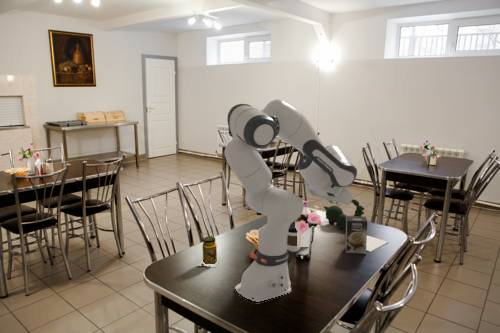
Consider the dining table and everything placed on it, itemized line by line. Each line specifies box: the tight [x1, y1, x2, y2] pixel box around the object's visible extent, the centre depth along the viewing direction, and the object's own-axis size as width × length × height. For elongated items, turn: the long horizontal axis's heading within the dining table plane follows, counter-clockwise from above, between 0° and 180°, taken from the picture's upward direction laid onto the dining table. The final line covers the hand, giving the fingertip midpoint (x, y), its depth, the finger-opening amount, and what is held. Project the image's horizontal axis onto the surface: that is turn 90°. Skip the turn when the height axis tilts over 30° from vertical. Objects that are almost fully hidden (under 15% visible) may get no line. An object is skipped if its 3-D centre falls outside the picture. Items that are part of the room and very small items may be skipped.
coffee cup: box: [287, 221, 298, 253], centre depth 175 cm, size 11×11×12 cm
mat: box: [366, 234, 389, 253], centre depth 182 cm, size 16×13×1 cm
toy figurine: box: [323, 199, 365, 232], centre depth 201 cm, size 9×19×25 cm
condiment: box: [202, 235, 218, 264], centre depth 161 cm, size 7×8×12 cm
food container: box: [311, 225, 317, 243], centre depth 186 cm, size 12×6×10 cm, turn 179°
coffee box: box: [344, 215, 368, 255], centre depth 172 cm, size 9×6×16 cm
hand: (335, 202), depth 157 cm, fingers open, 2 cm apart
